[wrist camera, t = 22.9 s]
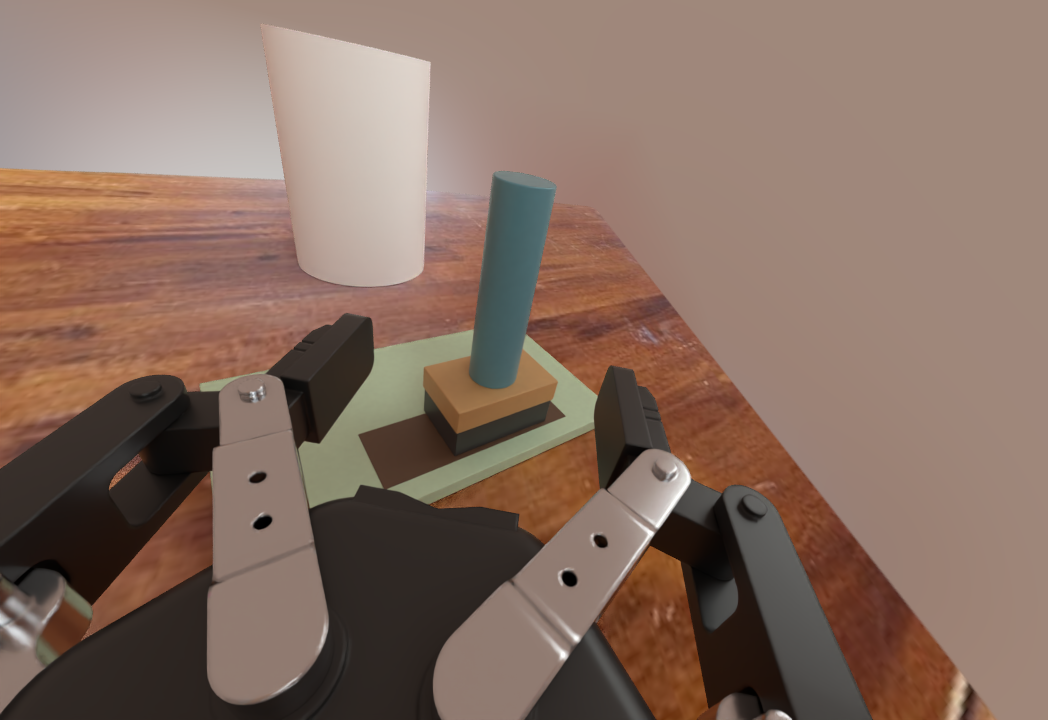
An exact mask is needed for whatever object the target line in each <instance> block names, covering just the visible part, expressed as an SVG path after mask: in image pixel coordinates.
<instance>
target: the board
mask: <svg viewBox="0 0 1048 720" xmlns="http://www.w3.org/2000/svg"><path fill="white" fill-rule="evenodd" d="M473 333H474V330H469V331H464V332H459V333H454V334H449V335H444V336H439V337H434V338H428V339H423V340H418V341H413V342H408V343H403V344H398V345H393V346H388V347H383V348H378V349H374V364H373V368H372V370H371V373H370V374H369V376H368V377H367V379H366V380H365V381H364V383H363V384H362V386H361V387H360V388H359V390H358V391H357V393H356V394H355V395H354V397H353V398H352V400H351V401H350V402H349V404H348V405H347V406H346V408H345V409H344V411H343V412H342V413H341V415H340V416H339V418H338V419H337V420H336V422H335V423H334V425H333V426H332V427H331V429H330V430H329V431H328V433H327V434H326V436H325V437H324V438H323V440H322V441H321V443H320V444H316V443H311V442H306V441H304V442H303V443H302V445H301V446H300V447H299V449H298V450H299V455H300V459H301V464H302V469H303V474H304V479H305V484H306V489H307V493H308V498H309V503H310V508H312V507H314V506H316V505H319V504H322V503H325V502H327V501H331V500H335V499H340V498H346V497H354V496H355V494H356V492H357V490H358V488H359V486H360V485H366V486H371V487H377V488H382V489H388V490H393V491H398V492H401V493H404V494H406V495H408V496H410V497H412V498H414V499H417V500H419V501H421V502H423V503H425V504H431V503H433V502H435V501H437V500H439V499H442V498H444V497H446V496H448V495H450V494H452V493H455V492H457V491H459V490H461V489H463V488H466V487H468V486H470V485H472V484H474V483H477V482H479V481H481V480H483V479H485V478H488V477H490V476H492V475H494V474H496V473H498V472H501V471H503V470H505V469H507V468H509V467H512V466H514V465H516V464H518V463H520V462H523V461H525V460H527V459H529V458H531V457H534V456H536V455H538V454H540V453H542V452H545V451H547V450H549V449H551V448H553V447H555V446H558V445H560V444H562V443H564V442H566V441H569V440H571V439H573V438H575V437H577V436H580V435H582V434H584V433H586V432H588V431H591V430H593V429H595V427H594V409H595V404H596V400H597V397H598V396H597V395H596V394H594V393H593V392H592V391H591V390H590V389H589V388H588V387H586V386H585V385H584V384H583V383H582V382H581V381H579V380H578V379H577V378H576V377H575V376H574V375H573V374H571V373H570V372H569V371H568V370H567V369H566V368H564V367H563V366H562V365H561V364H560V363H559V362H558V361H556V360H555V359H554V358H553V357H552V356H551V355H549V354H548V353H547V352H546V351H545V350H544V349H543V348H541V347H540V346H539V345H538V344H537V343H536V342H534V341H533V340H532V339H531V338H530V337H529V336H528V335H525V339H524V344H523V349H524V350H525V351H526V352H527V353H528V354H529V355H530V356H531V357H532V358H533V359H534V360H536V361H537V362H538V363H539V364H540V365H541V366H542V367H543V368H544V369H545V370H546V371H548V372H549V373H550V374H551V375H552V376H553V377H554V378H555V379H556V380H557V381H558V384H557V387H556V390H555V394H554V397H553V399H552V400H551V401H550V405H549V408H548V412H547V415H546V419H545V421H543V422H540V423H538V424H535V425H533V426H530V427H528V428H525V429H523V430H520V431H518V432H515V433H513V434H510V435H508V436H505V437H503V438H500V439H497V440H495V441H492V442H490V443H487V444H485V445H482V446H480V447H477V448H475V449H472V450H470V451H467V452H465V453H462V454H459V455H457V456H454V455H453V453H452V452H451V450H450V449H449V447H448V446H447V444H446V443H445V441H444V440H443V438H442V437H441V435H440V434H439V432H438V431H437V429H436V428H435V426H434V425H433V423H432V422H431V420H430V419H429V417H428V416H427V414H426V413H425V411H424V396H425V389H424V387H423V374H424V367H426V366H430V365H434V364H438V363H442V362H447V361H451V360H455V359H459V358H463V357H468V356H471V349H472V341H473ZM267 371H269V370H266V371H261V372H256V373H251V374H246V375H241V376H236V377H231V378H226V379H221V380H216V381H211V382H206V383H201V384H200V392H202V391H221V390H222V388H223V387H224V386H225V385H226V384H228V383H229V382H231V381H233V380H235V379H237V378H240V377H243V376H247V375H253V374H265V373H266V372H267ZM210 477H211V486H212V494H213V471H210Z"/></svg>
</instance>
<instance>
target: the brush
mask: <svg viewBox="0 0 1048 720" xmlns="http://www.w3.org/2000/svg"><path fill="white" fill-rule="evenodd" d="M555 192H556V185H555V184H554V183H553V182H551V181H549V180H546V179H543V178H540V177H536V176H533V175H529V174H524V173H518V172H510V171H498V172H494V173H493V177H492V186H491V194H490V202H489V210H488V218H487V226H486V234H485V243H484V251H483V259H482V267H481V275H480V284H479V292H478V300H477V308H476V316H475V325H474V333H473V341H472V349H471V356H468V357H463V358H459V359H455V360H451V361H447V362H442V363H438V364H434V365H430V366H426V367H424V374H423V387H424V389H425V396H424V411H425V413H426V414H427V416H428V417H429V419H430V420H431V422H432V423H433V425H434V426H435V428H436V429H437V431H438V432H439V434H440V435H441V437H442V438H443V440H444V441H445V443H446V444H447V446H448V447H449V449H450V450H451V452H452V453H453V455H454V456H457V455H459V454H462V453H465V452H467V451H470V450H472V449H475V448H477V447H480V446H482V445H485V444H487V443H490V442H492V441H495V440H497V439H500V438H503V437H505V436H508V435H510V434H513V433H515V432H518V431H520V430H523V429H525V428H528V427H530V426H533V425H535V424H538V423H540V422H543V421H545V419H546V415H547V412H548V408H549V405H550V401H551V400H552V399H553V397H554V394H555V390H556V387H557V384H558V381H557V380H556V379H555V378H554V377H553V376H552V375H551V374H550V373H549V372H548V371H546V370H545V369H544V368H543V367H542V366H541V365H540V364H539V363H538V362H537V361H536V360H534V359H533V358H532V357H531V356H530V355H529V354H528V353H527V352H526V351H525V350H524V349H523V344H524V339H525V335H526V330H527V325H528V320H529V316H530V311H531V306H532V301H533V297H534V292H535V287H536V283H537V278H538V273H539V268H540V264H541V259H542V254H543V249H544V245H545V240H546V235H547V230H548V226H549V221H550V216H551V211H552V207H553V202H554V197H555Z"/></svg>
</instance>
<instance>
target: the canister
mask: <svg viewBox="0 0 1048 720" xmlns="http://www.w3.org/2000/svg"><path fill="white" fill-rule="evenodd" d="M260 26H261V32H262V39H263V44H264V51H265V57H266V64H267V70H268V77H269V83H270V89H271V95H272V101H273V108H274V114H275V121H276V127H277V133H278V139H279V146H280V152H281V158H282V165H283V171H284V178H285V184H286V190H287V197H288V203H289V209H290V216H291V222H292V228H293V235H294V241H295V247H296V254H297V260H298V264H299V266H300V268H301V269H302V270H303V271H304V272H306V273H307V274H309V275H311V276H313V277H315V278H317V279H320V280H323V281H327V282H330V283H335V284H340V285H347V286H357V287H379V286H389V285H395V284H399V283H403V282H406V281H409V280H412V279H414V278H415V277H417V276H418V275H420V274H421V272H422V271H423V269H424V246H425V215H426V185H427V155H428V154H427V153H428V125H429V124H428V123H429V95H430V64H431V63H430V62H427V61H424V60H421V59H417V58H413V57H409V56H404V55H401V54H397V53H393V52H388V51H384V50H380V49H376V48H371V47H367V46H363V45H358V44H354V43H350V42H345V41H341V40H336V39H332V38H328V37H323V36H319V35H314V34H309V33H305V32H300V31H295V30H291V29H286V28H281V27H276V26H271V25H266V24H260Z"/></svg>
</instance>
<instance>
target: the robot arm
mask: <svg viewBox="0 0 1048 720" xmlns="http://www.w3.org/2000/svg"><path fill="white" fill-rule="evenodd" d="M373 364H374V342H373V325H372V320H371V318H369V317H364V316H359V315H354V314H349V313H345V314H344V315H343V316H342V317H341V318H340V319H339V320H337V321H336V322H335V323H334V324H333V325H325V326H323V327H320V328H318V329H316V330H313V331H312V332H311V333H309V334H308V335H307V336H306V337H305V338H304V339H303V340H302V342H299V343H298V344H297V345H296V346H295V347H294V350H291V351H290V352H288V353H287V354H286V355H285V356H284V357H283V358H282V359H281V360H280V361H278V362H277V363H276V364H275V365H274V366H273V367H272V368H271V369H270V370H269V371H267V372H266V373H265V374H253V375H247V376H243V377H240V378H237V379H235V380H233V381H231V382H229V383H228V384H226V385H225V386H224V387H223V388H222V390H221V391H202V392H187V390H186V388H185V385H184V383H183V381H182V380H181V379H179V378H178V377H175V376H171V375H152V376H146V377H141V378H138V379H134V380H132V381H129V382H127V383H125V384H123V385H121V386H119V387H118V388H116V389H115V390H113V391H112V392H110V393H109V394H107V395H106V396H104V397H103V398H102V399H100V400H99V401H97V402H96V403H94V404H93V405H92V406H90V407H89V408H87V409H86V410H84V411H83V412H81V413H80V414H79V415H77V416H76V417H74V418H73V419H71V420H70V421H69V422H67V423H66V424H64V425H63V426H61V427H60V428H58V429H57V430H56V431H54V432H53V433H51V434H50V435H48V436H47V437H45V438H44V439H43V440H41V441H40V442H38V443H37V444H35V445H34V446H33V447H31V448H30V449H28V450H27V451H25V452H24V453H22V454H21V455H20V456H18V457H17V458H15V459H14V460H12V461H11V462H10V463H8V464H7V465H5V466H4V467H2V468H1V469H0V720H656V719H655V717H654V715H653V714H652V712H651V710H650V709H649V707H648V706H647V704H646V702H645V701H644V699H643V698H642V696H641V694H640V693H639V691H638V690H637V688H636V686H635V685H634V683H633V681H632V680H631V678H630V677H629V675H628V673H627V672H626V670H625V669H624V667H623V665H622V664H621V662H620V660H619V659H618V657H617V656H616V654H615V652H614V651H613V649H612V648H611V646H610V644H609V643H608V641H607V640H606V638H605V636H604V635H603V633H602V631H601V630H600V628H599V627H598V625H597V623H598V621H599V620H600V618H601V617H602V615H603V614H604V612H605V611H606V609H607V608H608V606H609V605H610V603H611V602H612V600H613V599H614V597H615V596H616V595H617V593H618V592H619V590H620V589H621V587H622V586H623V584H624V583H625V581H626V580H627V578H628V577H629V576H630V574H631V573H632V571H633V570H634V568H635V567H636V565H637V564H638V563H639V561H640V560H641V558H642V557H643V555H644V554H645V552H646V551H647V549H648V548H649V547H650V546H652V547H654V548H656V549H658V550H660V551H662V552H664V553H666V554H668V555H670V556H672V557H674V558H676V559H678V560H680V561H681V566H682V571H683V577H684V582H685V587H686V592H687V598H688V603H689V608H690V613H691V619H692V624H693V629H694V634H695V640H696V645H697V650H698V655H699V661H700V666H701V671H702V676H703V682H704V687H705V692H706V697H707V703H708V708H709V709H708V710H707V711H705V712H704V713H702V714H701V715H700V716H699V717H698V718H697V720H873V719H872V717H871V715H870V713H869V710H868V708H867V706H866V704H865V702H864V699H863V697H862V695H861V693H860V691H859V688H858V686H857V684H856V682H855V680H854V677H853V675H852V673H851V671H850V669H849V666H848V664H847V662H846V660H845V658H844V655H843V653H842V651H841V649H840V647H839V644H838V642H837V640H836V638H835V636H834V633H833V631H832V629H831V627H830V625H829V622H828V620H827V618H826V616H825V614H824V611H823V609H822V607H821V605H820V603H819V600H818V598H817V596H816V594H815V592H814V589H813V587H812V585H811V583H810V581H809V578H808V576H807V574H806V572H805V570H804V567H803V565H802V563H801V561H800V559H799V556H798V554H797V552H796V550H795V548H794V545H793V543H792V541H791V539H790V537H789V534H788V532H787V530H786V528H785V526H784V523H783V521H782V519H781V517H780V515H779V513H778V511H777V509H776V508H775V507H774V505H773V504H772V503H771V502H770V501H769V500H768V499H767V498H766V497H764V496H763V495H762V494H760V493H759V492H757V491H755V490H753V489H751V488H749V487H746V486H742V485H731V486H728V487H727V488H726V489H725V490H724V492H723V493H720V492H718V491H716V490H713V489H711V488H709V487H707V486H704V485H702V484H700V483H698V482H696V481H694V480H693V479H691V475H690V472H689V470H688V468H687V467H686V465H685V464H684V463H683V462H682V461H681V460H680V459H679V458H677V457H676V456H674V455H673V454H671V451H670V447H669V444H668V441H667V437H666V434H665V431H664V427H663V424H662V422H661V417H660V414H659V412H658V407H657V404H656V400H655V398H654V397H653V396H652V394H651V393H650V392H649V391H648V389H647V388H646V387H642V386H637V382H636V378H635V374H634V371H633V370H632V369H627V368H622V367H616V366H610V367H609V368H608V370H607V373H606V376H605V378H604V381H603V384H602V386H601V389H600V392H599V395H598V397H597V400H596V404H595V409H594V427H595V438H596V450H597V461H598V473H599V484H600V490H599V491H598V492H596V494H595V495H594V496H593V497H592V498H591V499H590V500H589V501H588V502H587V503H586V504H585V505H584V506H583V507H582V508H581V509H580V510H579V511H578V512H577V513H576V514H575V515H574V516H573V517H572V518H571V519H570V520H569V521H568V522H567V523H566V524H565V525H564V526H563V527H562V528H561V530H560V531H559V532H558V533H557V534H556V535H555V536H554V537H553V538H552V539H551V540H550V541H549V542H548V543H547V544H546V545H544V544H543V543H542V542H541V541H540V540H539V539H537V538H536V537H535V536H534V535H532V534H531V533H529V532H527V531H526V530H524V529H522V528H520V527H518V521H519V514H516V513H511V512H506V511H500V510H495V509H489V508H484V507H466V508H445V509H438V508H434V507H432V506H430V505H428V504H425V503H423V502H421V501H419V500H417V499H414V498H412V497H410V496H408V495H406V494H404V493H401V492H398V491H393V490H388V489H382V488H377V487H371V486H366V485H360V486H359V488H358V490H357V492H356V494H355V496H354V497H346V498H340V499H335V500H331V501H327V502H325V503H322V504H319V505H316V506H314V507H312V508H310V503H309V498H308V493H307V489H306V484H305V479H304V474H303V469H302V464H301V459H300V455H299V450H298V449H299V447H300V446H301V445H302V443H303V442H304V441H306V442H311V443H316V444H320V443H321V441H322V440H323V438H324V437H325V436H326V434H327V433H328V431H329V430H330V429H331V427H332V426H333V425H334V423H335V422H336V420H337V419H338V418H339V416H340V415H341V413H342V412H343V411H344V409H345V408H346V406H347V405H348V404H349V402H350V401H351V400H352V398H353V397H354V395H355V394H356V393H357V391H358V390H359V388H360V387H361V386H362V384H363V383H364V381H365V380H366V379H367V377H368V376H369V374H370V373H371V370H372V368H373ZM137 454H139V456H140V458H141V459H142V461H141V462H139V463H138V464H137V465H136V466H135V467H134V468H133V469H132V470H131V471H130V472H129V473H128V474H126V475H125V476H124V477H123V478H122V479H121V480H120V481H119V482H118V483H117V484H116V485H114V486H113V487H112V488H111V489H110V490H109V485H110V482H111V480H112V479H113V477H114V476H115V474H116V473H117V472H118V471H119V470H120V469H122V468H123V467H124V466H125V465H126V464H127V463H128V462H129V461H130V460H132V459H133V458H134V457H135V456H136V455H137ZM209 471H213V564H212V565H211V566H209V567H207V568H206V569H204V570H202V571H200V572H199V573H197V574H195V575H194V576H192V577H190V578H188V579H187V580H185V581H183V582H182V583H180V584H178V585H176V586H175V587H173V588H171V589H170V590H168V591H166V592H164V593H163V594H161V595H159V596H158V597H156V598H154V599H152V600H151V601H149V602H147V603H146V604H144V605H142V606H140V607H139V608H137V609H135V610H134V611H132V612H130V613H128V614H127V615H125V616H123V617H121V618H120V619H118V620H116V621H115V622H113V623H111V624H109V625H108V626H106V627H104V628H103V629H101V630H99V631H97V632H96V633H94V634H92V635H90V636H89V637H87V638H86V639H84V640H82V641H81V639H82V637H83V636H84V634H85V633H86V631H87V630H88V628H89V626H90V623H91V620H92V615H93V611H92V607H91V606H92V605H93V604H94V603H95V602H96V600H97V599H98V598H99V597H100V596H101V595H102V594H103V592H104V591H105V590H106V589H107V588H108V587H109V586H110V584H111V583H112V582H113V581H114V580H115V579H116V578H117V576H118V575H119V574H120V573H121V572H122V571H123V570H124V568H125V567H126V566H127V565H128V564H129V563H130V562H131V560H132V559H133V558H134V557H135V556H136V555H137V554H138V552H139V551H140V550H141V549H142V548H143V547H144V546H145V544H146V543H147V542H148V541H149V540H150V539H151V538H152V536H153V535H154V534H155V533H156V532H157V531H158V530H159V528H160V527H161V526H162V525H163V524H164V523H165V522H166V520H167V519H168V518H169V517H170V516H171V515H172V514H173V512H174V511H175V510H176V509H177V508H178V507H179V505H180V504H181V503H182V502H183V501H184V500H185V499H186V497H187V496H188V495H189V494H190V493H191V492H192V491H193V489H194V488H195V487H196V486H197V485H198V484H199V483H200V481H201V480H202V479H203V478H204V477H205V476H206V475H207V473H208V472H209Z"/></svg>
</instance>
